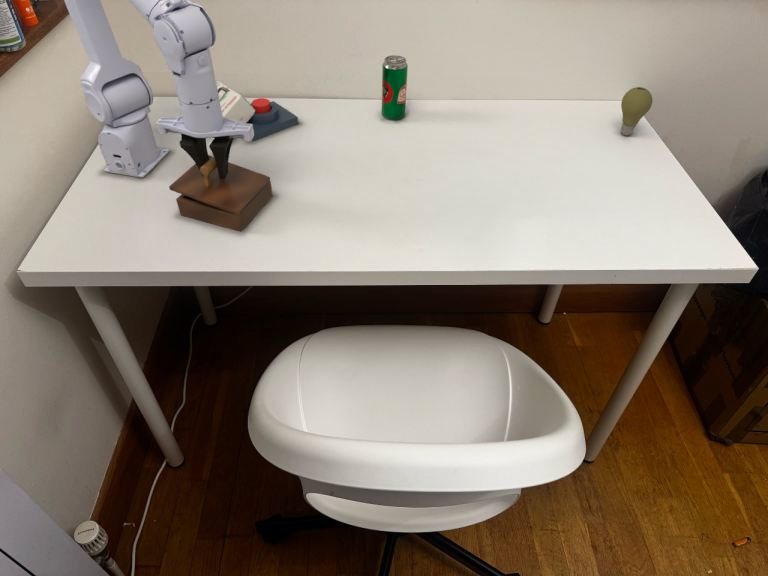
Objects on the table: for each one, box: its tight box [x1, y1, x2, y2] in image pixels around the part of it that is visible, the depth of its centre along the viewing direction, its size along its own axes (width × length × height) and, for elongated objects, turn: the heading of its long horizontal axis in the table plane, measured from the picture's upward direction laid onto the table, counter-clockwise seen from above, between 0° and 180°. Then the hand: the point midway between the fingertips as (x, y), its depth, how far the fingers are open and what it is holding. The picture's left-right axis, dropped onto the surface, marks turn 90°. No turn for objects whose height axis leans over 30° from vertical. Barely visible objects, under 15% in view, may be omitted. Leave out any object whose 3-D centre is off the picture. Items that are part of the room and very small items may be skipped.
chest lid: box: [168, 154, 271, 215], centre depth 92 cm, size 12×11×5 cm
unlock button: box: [251, 97, 271, 114], centre depth 114 cm, size 4×4×2 cm
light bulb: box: [620, 86, 653, 137], centre depth 113 cm, size 6×6×10 cm
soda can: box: [381, 54, 409, 121], centre depth 116 cm, size 5×5×12 cm
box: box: [246, 100, 299, 142], centre depth 116 cm, size 11×9×4 cm
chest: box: [175, 180, 274, 233], centre depth 95 cm, size 12×11×3 cm
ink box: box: [215, 79, 255, 123], centre depth 113 cm, size 8×5×12 cm
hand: (215, 174), depth 93 cm, fingers closed on chest lid, 2 cm apart
